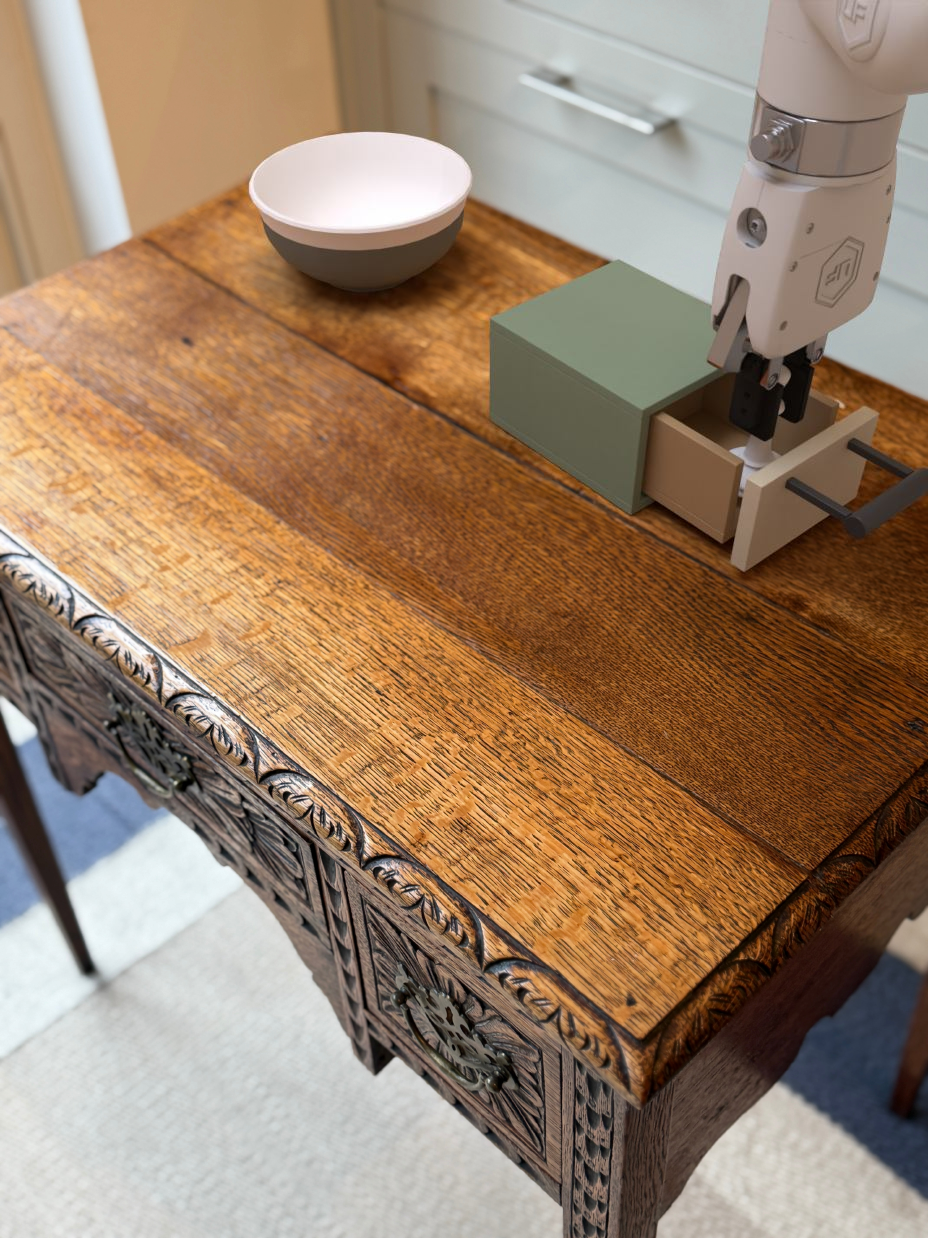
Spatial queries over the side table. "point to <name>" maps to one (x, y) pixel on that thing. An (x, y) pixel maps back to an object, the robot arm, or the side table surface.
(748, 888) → the side table surface
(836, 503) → the drawer
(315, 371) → the side table surface
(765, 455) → the chess piece
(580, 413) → the cabinet
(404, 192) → the bowl
